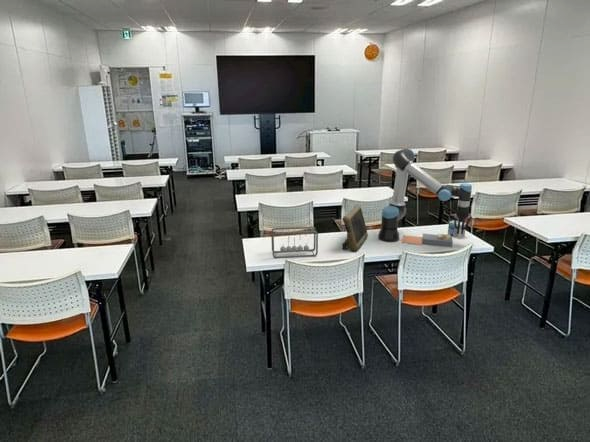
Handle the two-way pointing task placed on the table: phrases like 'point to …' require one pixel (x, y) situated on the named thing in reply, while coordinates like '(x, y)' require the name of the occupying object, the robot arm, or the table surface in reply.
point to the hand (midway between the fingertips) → (459, 238)
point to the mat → (412, 240)
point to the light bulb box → (453, 231)
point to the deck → (436, 240)
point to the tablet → (355, 229)
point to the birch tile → (443, 237)
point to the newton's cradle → (294, 248)
